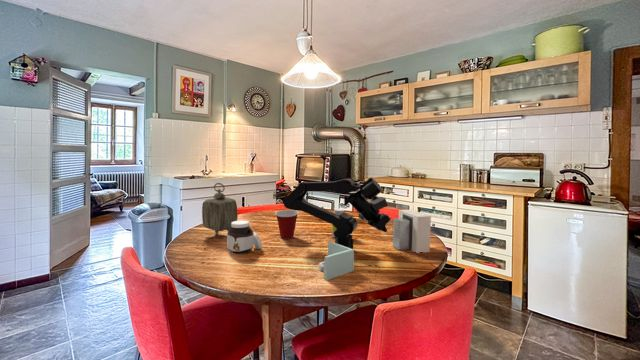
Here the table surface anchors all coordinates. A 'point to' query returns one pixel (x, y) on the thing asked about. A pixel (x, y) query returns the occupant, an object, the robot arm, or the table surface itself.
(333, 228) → the supplement bottle
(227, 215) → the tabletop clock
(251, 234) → the spread jar
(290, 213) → the plastic cup
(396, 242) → the light grey rectangular block
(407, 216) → the housing
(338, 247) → the l-shaped corner panel
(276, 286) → the table surface
